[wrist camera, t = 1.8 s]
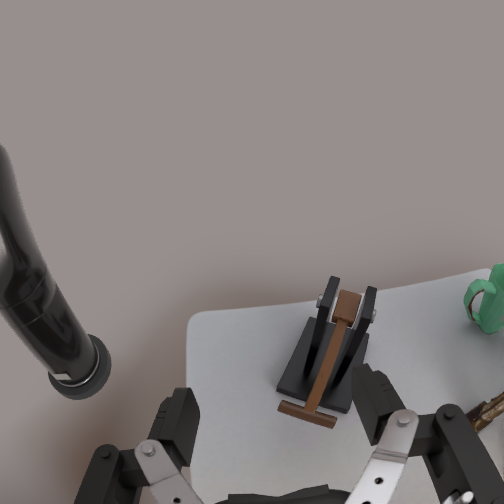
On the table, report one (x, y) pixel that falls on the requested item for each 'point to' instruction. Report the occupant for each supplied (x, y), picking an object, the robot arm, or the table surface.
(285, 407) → the lever
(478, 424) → the figurine
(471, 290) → the mug
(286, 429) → the table surface
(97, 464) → the robot arm
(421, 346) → the table surface
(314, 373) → the bracket
